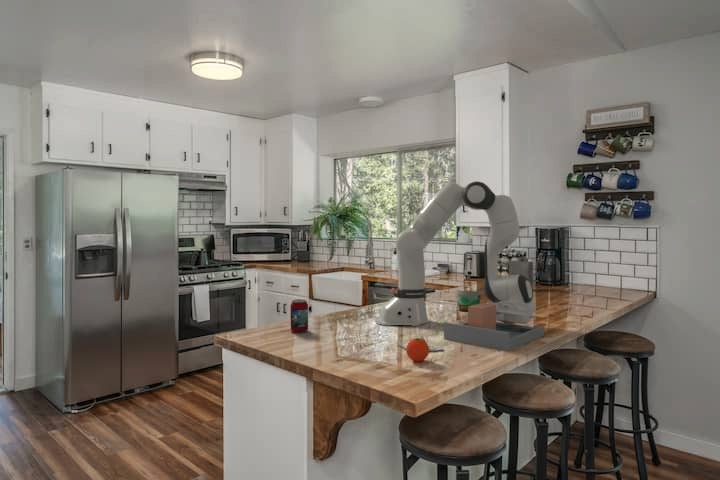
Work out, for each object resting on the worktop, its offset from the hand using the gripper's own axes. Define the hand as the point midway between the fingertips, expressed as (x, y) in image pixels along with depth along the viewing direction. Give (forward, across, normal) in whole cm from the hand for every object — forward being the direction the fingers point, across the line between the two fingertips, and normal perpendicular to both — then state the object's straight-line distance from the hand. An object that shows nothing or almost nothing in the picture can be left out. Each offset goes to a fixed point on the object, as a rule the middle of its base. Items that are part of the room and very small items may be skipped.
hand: (492, 317), depth 177 cm
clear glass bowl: (+28, +12, -8) cm, 32 cm away
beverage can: (+40, +60, -8) cm, 73 cm away
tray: (-2, 0, -8) cm, 8 cm away
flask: (-120, +44, -8) cm, 128 cm away
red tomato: (+41, +3, -8) cm, 42 cm away
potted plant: (-39, +33, -8) cm, 52 cm away
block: (+5, +1, -5) cm, 7 cm away
